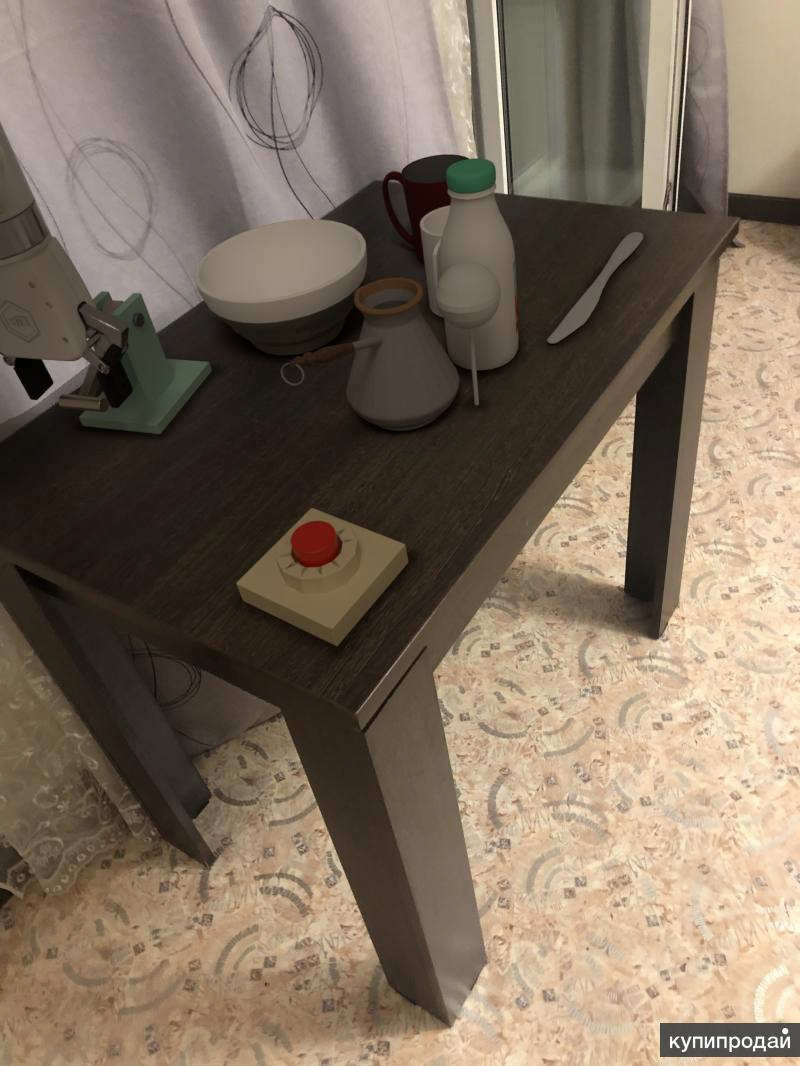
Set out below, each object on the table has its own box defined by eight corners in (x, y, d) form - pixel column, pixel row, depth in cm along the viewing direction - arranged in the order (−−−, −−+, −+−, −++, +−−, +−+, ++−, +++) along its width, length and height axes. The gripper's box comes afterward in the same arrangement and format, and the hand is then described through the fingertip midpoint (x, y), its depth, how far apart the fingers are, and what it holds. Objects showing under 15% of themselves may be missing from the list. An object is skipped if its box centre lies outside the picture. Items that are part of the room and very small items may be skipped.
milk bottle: (515, 372, 86) (508, 180, 72) (443, 373, 87) (422, 185, 73) (521, 333, 91) (515, 147, 77) (453, 334, 93) (435, 153, 79)
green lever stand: (160, 434, 86) (119, 336, 78) (82, 426, 89) (35, 331, 81) (212, 370, 94) (179, 275, 86) (139, 365, 97) (101, 272, 89)
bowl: (288, 280, 108) (271, 209, 101) (410, 308, 98) (400, 231, 92) (184, 356, 97) (157, 283, 90) (310, 395, 88) (290, 316, 81)
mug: (380, 267, 107) (366, 182, 99) (404, 236, 113) (393, 154, 105) (467, 271, 103) (460, 183, 95) (487, 239, 108) (482, 154, 101)
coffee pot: (386, 368, 89) (363, 237, 79) (480, 387, 84) (470, 250, 74) (273, 489, 77) (230, 353, 67) (377, 520, 72) (347, 378, 62)
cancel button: (321, 574, 63) (316, 558, 62) (286, 558, 65) (281, 543, 64) (348, 544, 65) (344, 529, 64) (314, 530, 67) (309, 515, 66)
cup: (408, 333, 94) (396, 251, 87) (442, 282, 102) (434, 202, 95) (475, 339, 91) (469, 255, 84) (506, 286, 99) (502, 205, 92)
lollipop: (488, 427, 80) (478, 287, 69) (436, 414, 82) (419, 277, 72) (516, 393, 83) (510, 253, 73) (465, 381, 86) (453, 245, 75)
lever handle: (108, 417, 82) (94, 405, 80) (68, 413, 83) (53, 401, 81) (146, 314, 85) (134, 301, 83) (107, 312, 87) (94, 299, 85)
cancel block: (337, 647, 63) (327, 613, 60) (242, 600, 67) (229, 568, 65) (408, 562, 68) (402, 528, 65) (316, 525, 73) (307, 492, 70)
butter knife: (653, 233, 102) (630, 228, 103) (565, 346, 87) (539, 339, 89) (652, 237, 103) (629, 233, 104) (565, 350, 88) (539, 344, 89)
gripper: (-107, 250, 70) (-10, 411, 82) (57, 255, 64) (135, 426, 76) (-49, 211, 75) (35, 368, 87) (108, 212, 69) (174, 380, 81)
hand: (82, 395), depth 81 cm, fingers open, 9 cm apart
